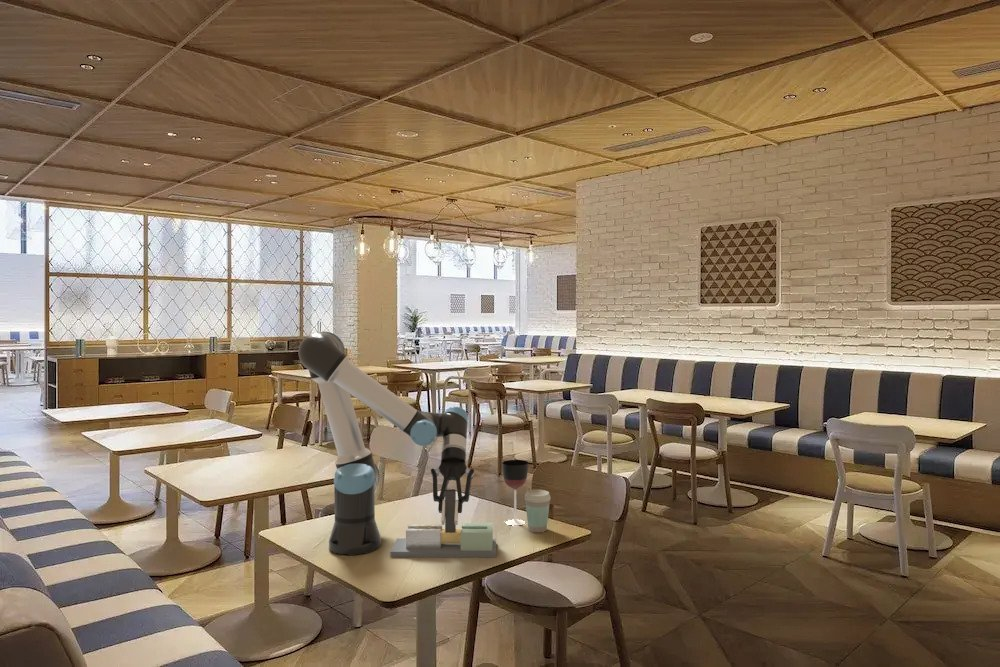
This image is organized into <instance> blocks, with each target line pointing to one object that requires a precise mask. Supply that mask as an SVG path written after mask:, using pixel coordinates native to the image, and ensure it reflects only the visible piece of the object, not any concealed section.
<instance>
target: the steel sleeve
mask: <svg viewBox="0 0 1000 667" xmlns="http://www.w3.org/2000/svg"><path fill="white" fill-rule="evenodd" d="M441 529H443V525H442V524H408V525H407V528H406V529H405V538H406V548H441V545H442V544H441Z"/></svg>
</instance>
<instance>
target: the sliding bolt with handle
mask: <svg viewBox="0 0 1000 667" xmlns="http://www.w3.org/2000/svg"><path fill="white" fill-rule="evenodd" d="M456 492H457V489H447V490H445V499H444V500H445V525H444V526H445V527H444V528H442V529H441V544H460V543H461V529H462V528H457V525H455V521H454V519H455V501H456V500H457V499H456V498H457V497H456V496H457V495H456V494H457V493H456Z"/></svg>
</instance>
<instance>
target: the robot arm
mask: <svg viewBox="0 0 1000 667" xmlns="http://www.w3.org/2000/svg"><path fill="white" fill-rule="evenodd" d="M297 352H298V357H299V358H298V359H299V361H300V363H301V364H302V366H303V367H304V368H305V369H307V370H308V372H309V376H310V379H311V381H314V382H315V383H317V387H318V390H319V392H320V395H321V396H320V397H321V400H322V403H323V406H324V411H325V414H326V417H327V421H328V425H329V428H330V431H331V435H332V438H333V441H334V442H333V443H334V446H335V450H336V451H337V452H336V453H337V457H336V460H335V461H334V463H335V467H336V471H335V472H334V478H333V486H334V488H333V489H334V522H333V527H332V529H331V533H330V537H329V539H328V550H329V549H330V550H331V551H330V550H329V551H330V552H332V551H333V552H335V553H334V554H336V553H339V554H338V555H341V554H348V555H347V556H355V555H354V554H358V555H362V553H364V554H368V553H371V552H374V551H376V550H378V549H379V548H380V547H381V544H382V538H381V533H380V531H379V527H378V525H377V522H376V518H375V516H376V515H375V513H376V512H375V511H376V510H375V496H376V495H375V494H376V490H377V487H378V485H379V484H380V471H379V467H378V465H377V463H376V462H375V460H374V457H373V454H372V451H371V450H370V449H368V448H367V447H365V443H364V438H363V436H362V431H361V429H360V426H359V421H358V418H357V414H356V411H355V407H354V404H353V401H352V400H353V399H352V397H354V398H355V399H357V400H358V401H360V402H361V403H362V404H364V405H365V406H367V407H368V408H369V409H371V410H372V411H374V412H375V413H376V414H378V415H379V416H380V417H382V418H383V419H385V420H386V421H388V422H389V423H390V424H392V425H393V426H395V427H396V428H398V429H399V430H400V431H402V432H403V433H404V434H406V436H408V437H409V438H410V439H411V440H412V441H413V443H415V444H416V445H418V446H419V447H421V446H422V447H426V446H429V445H430V444H432V443H433V442H434V441H435V439H436V437H438V438H440V437H441V438H442V441H441V442H442V447H441V459H440V465H439V466H438V468H431V469H430V474H431V477H432V496H433V497H432V498H433V502H434V503H435V502H437V503H438V508H437V509H438V513H439V514H441V517H440V523H441V525H442V526H445V490H448V485H449V484H450V481H455V483H456V484H455V485H456V492H457V493H456V494H457V499H456V501H455V519H454V521H455V525H456V526H458V525H459V524H458V522H459V514H462V512H463V504H464V503H465V502H467V503H468V502H469V500H470V493H471V487H472V480H473V478H474V476H475V469H474V468H468V466H467V465H466V461H467V459H466V458H467V438H468V412H467V411H466V410H465V408H462V407H459V406H453V407H448V408H447V409H446V410H445V412H444V413H443V412H441V413H440V412H431V411H430V412H429V411H420V410H417V409H416V408H415V407H414V406H412V405H410V404H409V403H408V402H406V401H405V400H403V399H402V398H401V397H399V396H398V395H397V394H395V393H394V392H392V391H391V390H390V389H388V388H387V387H385V386H384V385H383V384H381V383H380V382H378V381H377V380H376V379H374V378H373V377H372V376H371V375H369V374H367V373H366V372H364V370H362V369H360V367H358V366H356V365H355V364H354V363H353V362H351V361H350V360H349V356H348V355H347V354H346V352H345V346H344V343H343V341H342V339H341V338H340V337H339V336H338V335H336V334H335V333H333V332H329V331H319V332H315V333H311V334H309V335H307V336H306V337H304V339H303V340H302V341H301V343H300V344H299V347H298V351H297ZM465 473H466V483H465V490H464V495H463V493H462V484H461V479H462V477H463V476H464V475H465ZM440 474H441V476H442V477H443V479H442V480H443V481H442V484H441V489H440V492H438V484H439V483H438V477H439V476H440ZM438 494H439V495H438ZM333 552H332V553H333ZM367 552H368V553H367Z"/></svg>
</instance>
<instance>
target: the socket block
mask: <svg viewBox="0 0 1000 667" xmlns="http://www.w3.org/2000/svg"><path fill="white" fill-rule="evenodd" d="M493 524H494V523H493V522H462V525H461V528H460V529H461V551H492V546H493V539H494V525H493Z"/></svg>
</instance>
